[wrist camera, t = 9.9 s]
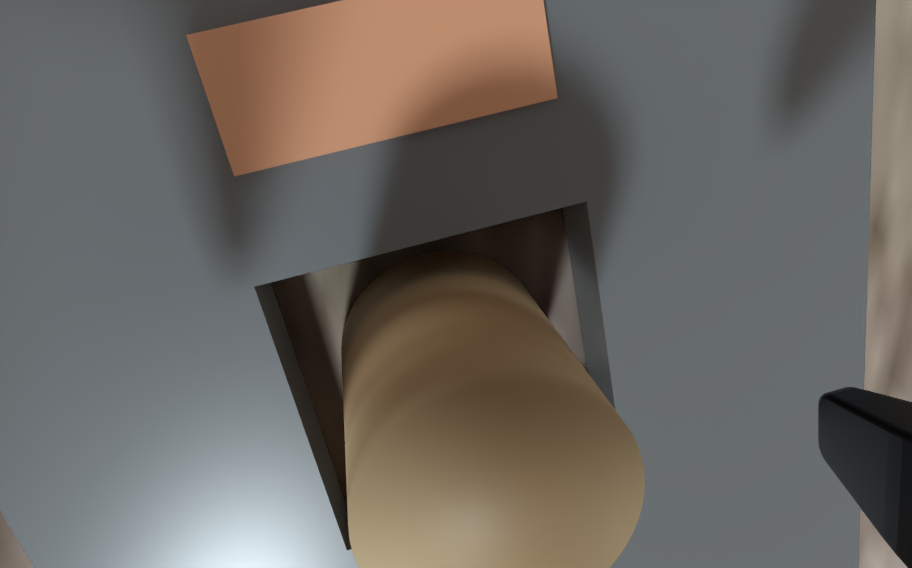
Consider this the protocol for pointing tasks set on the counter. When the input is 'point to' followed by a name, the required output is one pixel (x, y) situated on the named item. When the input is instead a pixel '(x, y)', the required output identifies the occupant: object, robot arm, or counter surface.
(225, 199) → the hole plate
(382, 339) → the peg
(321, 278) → the counter surface
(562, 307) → the counter surface
